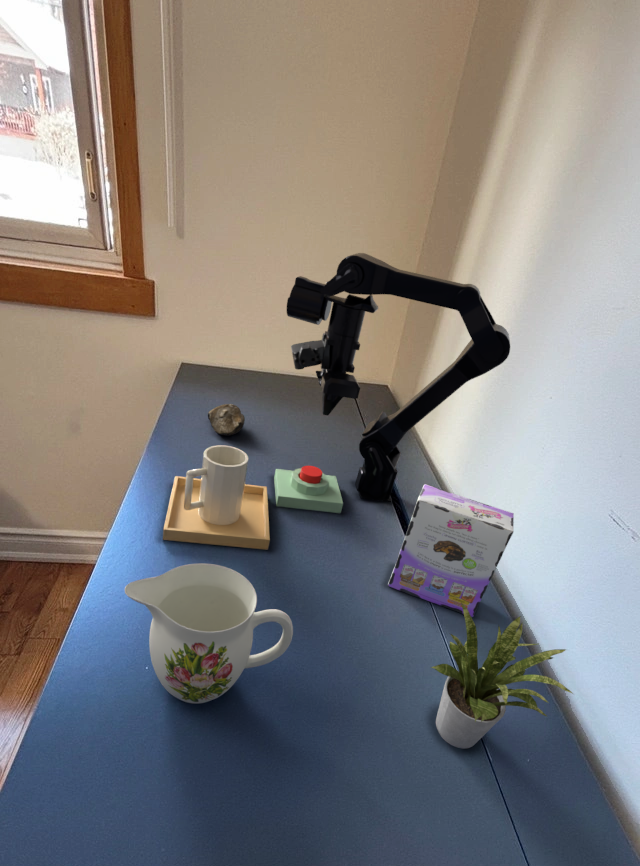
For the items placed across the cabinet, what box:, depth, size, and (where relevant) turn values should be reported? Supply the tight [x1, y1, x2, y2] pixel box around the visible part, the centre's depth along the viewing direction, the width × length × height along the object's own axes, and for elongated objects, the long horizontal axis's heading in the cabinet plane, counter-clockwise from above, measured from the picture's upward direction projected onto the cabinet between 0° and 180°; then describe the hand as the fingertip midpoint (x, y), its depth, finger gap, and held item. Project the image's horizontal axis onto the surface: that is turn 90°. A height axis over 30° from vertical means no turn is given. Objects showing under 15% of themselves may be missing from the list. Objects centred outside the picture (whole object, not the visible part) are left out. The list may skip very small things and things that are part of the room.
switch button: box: [300, 465, 323, 484], centre depth 99 cm, size 4×4×2 cm
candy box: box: [387, 483, 515, 618], centre depth 80 cm, size 14×6×16 cm, turn 71°
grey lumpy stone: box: [207, 403, 246, 436], centre depth 116 cm, size 8×7×10 cm
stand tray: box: [162, 475, 271, 551], centre depth 90 cm, size 16×16×2 cm
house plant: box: [430, 601, 574, 749], centre depth 58 cm, size 14×14×16 cm
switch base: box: [273, 467, 344, 514], centre depth 100 cm, size 12×10×4 cm
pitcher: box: [124, 562, 294, 704], centre depth 59 cm, size 11×18×14 cm, turn 101°
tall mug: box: [184, 444, 250, 525], centre depth 86 cm, size 10×7×11 cm
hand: (325, 414), depth 102 cm, fingers closed
